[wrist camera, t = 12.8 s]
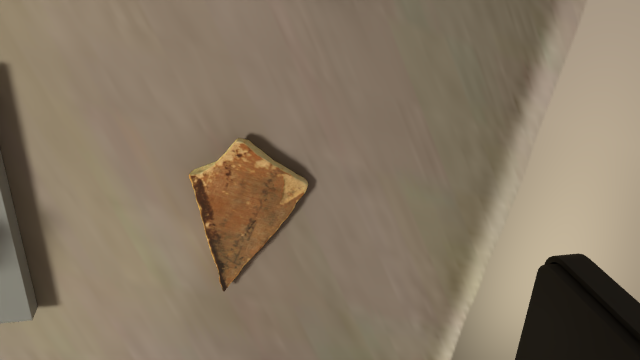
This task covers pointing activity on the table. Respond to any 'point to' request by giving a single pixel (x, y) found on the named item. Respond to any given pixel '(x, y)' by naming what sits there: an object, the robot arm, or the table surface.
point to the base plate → (13, 262)
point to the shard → (243, 204)
